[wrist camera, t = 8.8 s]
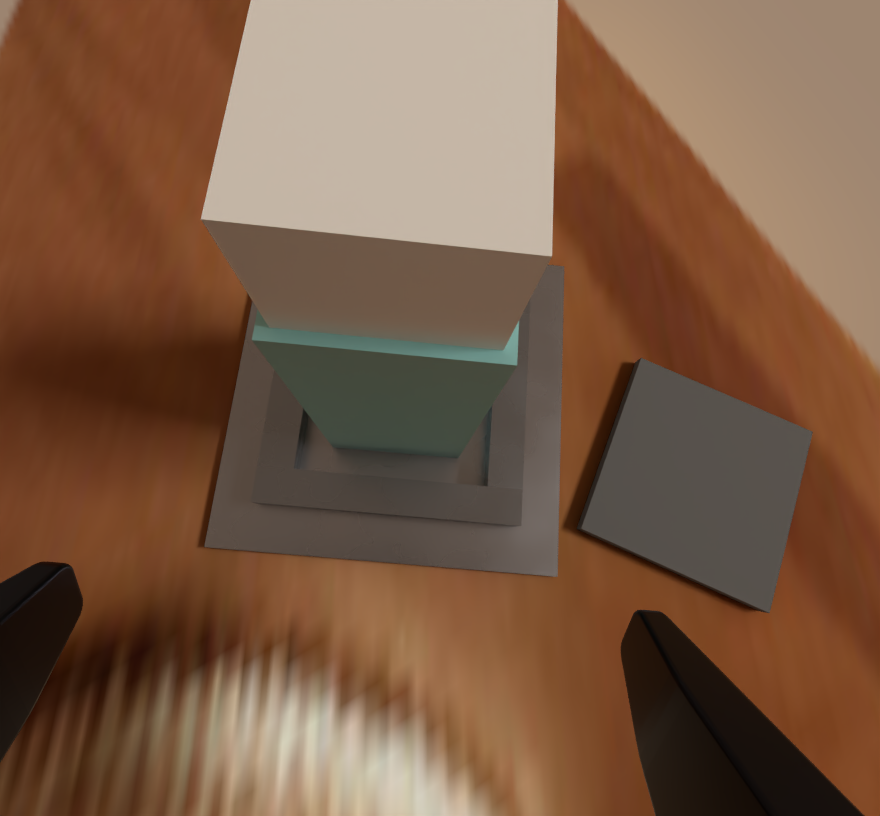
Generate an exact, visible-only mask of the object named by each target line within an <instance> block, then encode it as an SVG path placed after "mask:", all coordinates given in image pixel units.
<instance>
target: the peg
mask: <svg viewBox="0 0 880 816" xmlns="http://www.w3.org/2000/svg"><path fill="white" fill-rule="evenodd" d="M557 7H558V0H251V2H250V7H249V11H248V15H247V20H246V24H245V29H244V33H243V37H242V42H241V46H240V50H239V55H238V59H237V64H236V68H235V72H234V77H233V81H232V85H231V90H230V94H229V99H228V103H227V107H226V112H225V116H224V120H223V125H222V129H221V134H220V138H219V142H218V147H217V151H216V156H215V160H214V164H213V169H212V173H211V177H210V182H209V186H208V191H207V195H206V199H205V204H204V208H203V212H202V217H201V220H202V222H203V223H204V225H205V226H206V228H207V229H208V231H209V233H210V234H211V236H212V237H213V239H214V241H215V242H216V244H217V245H218V247H219V249H220V250H221V252H222V253H223V255H224V256H225V258H226V260H227V261H228V263H229V264H230V266H231V268H232V269H233V271H234V272H235V274H236V276H237V277H238V279H239V280H240V282H241V283H242V285H243V287H244V288H245V290H246V291H247V293H248V295H249V296H250V298H251V299H252V301H253V303H254V304H255V306H256V307H257V315H256V320H255V325H254V331H253V336H252V341H253V342H254V344H255V345H256V346H257V347H258V349H259V350H260V351H261V353H262V354H263V355H264V357H265V358H266V359H267V361H268V362H269V363H270V365H271V366H272V367H273V369H274V370H275V371H276V373H277V374H278V375H279V377H280V378H281V379H282V381H283V382H284V383H285V385H286V386H287V387H288V389H289V390H290V391H291V393H292V394H293V395H294V397H295V398H296V399H297V401H298V402H299V403H300V404H301V406H302V407H303V408H304V410H305V411H306V412H307V414H308V415H309V416H310V418H311V419H312V420H313V422H314V423H315V424H316V426H317V427H318V428H319V430H320V431H321V432H322V434H323V435H324V436H325V438H326V439H327V440H328V442H329V443H330V444H331V446H332V447H335V448H346V449H358V450H369V451H381V452H392V453H404V454H415V455H426V456H438V457H449V458H459V456H460V455H461V453H462V451H463V450H464V448H465V447H466V445H467V444H468V442H469V440H470V439H471V437H472V436H473V434H474V433H475V431H476V429H477V428H478V426H479V425H480V423H481V422H482V420H483V418H484V417H485V415H486V414H487V412H488V411H489V409H490V407H491V406H492V404H493V403H494V401H495V400H496V398H497V396H498V395H499V393H500V392H501V390H502V389H503V387H504V385H505V384H506V382H507V381H508V379H509V378H510V376H511V374H512V373H513V371H514V370H515V368H516V367H517V358H518V333H519V319H520V317H521V315H522V313H523V312H524V310H525V308H526V306H527V304H528V302H529V300H530V298H531V296H532V294H533V292H534V290H535V288H536V286H537V284H538V282H539V281H540V279H541V277H542V275H543V273H544V271H545V269H546V267H547V265H548V263H549V261H550V259H551V257H552V230H553V185H554V141H555V96H556V51H557Z"/></svg>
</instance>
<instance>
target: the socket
mask: <svg viewBox="0 0 880 816" xmlns="http://www.w3.org/2000/svg"><path fill="white" fill-rule="evenodd" d="M563 299H564V267H563V266H554V265H547V267H546V269H545V271H544V273H543V275H542V277H541V279H540V281H539V282H538V284H537V286H536V288H535V290H534V292H533V294H532V296H531V298H530V300H529V302H528V304H527V306H526V308H525V310H524V312H523V313H522V315H521V317H520V319H519V333H518V358H517V367H516V368H515V370H514V371H513V373H512V374H511V376H510V378H509V379H508V381H507V382H506V384H505V385H504V387H503V389H502V390H501V392H500V393H499V395H498V396H497V398H496V400H495V401H494V403H493V404H492V406H491V407H490V409H489V411H488V412H487V414H486V415H485V417H484V418H483V420H482V422H481V423H480V425H479V426H478V428H477V429H476V431H475V433H474V434H473V436H472V437H471V439H470V440H469V442H468V444H467V445H466V447H465V448H464V450H463V451H462V453H461V455H460V456H459V458H449V457H438V456H426V455H415V454H404V453H392V452H381V451H369V450H358V449H346V448H335V447H332V446H331V444H330V443H329V442H328V440H327V439H326V438H325V436H324V435H323V434H322V432H321V431H320V430H319V428H318V427H317V426H316V424H315V423H314V422H313V420H312V419H311V418H310V416H309V415H308V414H307V412H306V411H305V410H304V408H303V407H302V406H301V404H300V403H299V402H298V401H297V399H296V398H295V397H294V395H293V394H292V393H291V391H290V390H289V389H288V387H287V386H286V385H285V383H284V382H283V381H282V379H281V378H280V377H279V375H278V374H277V373H276V371H275V370H274V369H273V367H272V366H271V365H270V363H269V362H268V361H267V359H266V358H265V357H264V355H263V354H262V353H261V351H260V350H259V349H258V347H257V346H256V345H255V344H254V342H253V341H252V336H253V331H254V325H255V320H256V315H257V307H256V306H255V304H254V303H253V301H252V306H251V311H250V316H249V321H248V326H247V331H246V336H245V341H244V346H243V351H242V357H241V362H240V367H239V372H238V377H237V382H236V387H235V392H234V397H233V402H232V408H231V413H230V418H229V423H228V428H227V433H226V438H225V443H224V448H223V453H222V459H221V464H220V469H219V474H218V479H217V484H216V489H215V494H214V499H213V504H212V510H211V515H210V520H209V525H208V530H207V535H206V540H205V545H204V547H210V548H222V549H234V550H246V551H257V552H269V553H281V554H293V555H305V556H317V557H329V558H341V559H353V560H365V561H377V562H388V563H400V564H412V565H424V566H436V567H448V568H460V569H472V570H484V571H496V572H507V573H519V574H531V575H543V576H555V577H557V573H558V528H559V482H560V436H561V391H562V345H563Z"/></svg>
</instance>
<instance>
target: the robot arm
mask: <svg viewBox="0 0 880 816" xmlns="http://www.w3.org/2000/svg"><path fill="white" fill-rule="evenodd" d="M82 606H83V598H82V595H81V592H80V589H79V586H78V583H77V580H76V577H75V574H74V570H73V568H72V567H71V566H70V565H69V564H66V563H57V562H39V563H36V564H34V565H32V566H30V567H29V568H27V569H25V570H23V571H21V572H20V573H18V574H16V575H14V576H12V577H11V578H9V579H7V580H5V581H3V582H2V583H0V762H1V761H2V759H3V757H4V756H5V754H6V752H7V751H8V749H9V748H10V746H11V744H12V743H13V741H14V740H15V738H16V736H17V735H18V733H19V732H20V730H21V728H22V726H23V725H24V723H25V721H26V720H27V718H28V716H29V715H30V713H31V711H32V709H33V707H34V705H35V704H36V702H37V700H38V698H39V696H40V694H41V692H42V690H43V688H44V686H45V684H46V682H47V680H48V678H49V676H50V674H51V672H52V670H53V668H54V666H55V664H56V662H57V660H58V658H59V656H60V654H61V652H62V650H63V648H64V646H65V644H66V642H67V640H68V638H69V636H70V634H71V632H72V630H73V628H74V626H75V624H76V622H77V620H78V618H79V616H80V614H81V611H82ZM621 659H622V664H623V670H624V675H625V681H626V687H627V692H628V698H629V703H630V709H631V714H632V720H633V726H634V731H635V737H636V742H637V747H638V752H639V757H640V761H641V764H642V768H643V772H644V776H645V779H646V783H647V787H648V790H649V794H650V797H651V801H652V804H653V808H654V812H655V815H656V816H864V815H863V814H862V813H861V812H860V811H859V810H858V809H857V808H856V807H855V806H854V805H853V804H852V803H851V802H850V801H849V800H848V799H847V798H846V797H845V796H844V795H843V794H842V793H841V792H840V791H839V790H838V789H837V788H836V786H835V785H834V784H833V783H832V782H831V781H830V780H829V779H828V778H827V777H826V776H825V775H824V774H823V773H822V772H821V771H820V770H819V769H818V768H817V767H816V766H815V765H814V764H813V763H812V762H811V761H810V760H809V759H808V758H807V757H806V756H805V755H804V754H803V753H802V752H801V751H800V750H799V749H798V748H797V747H796V746H795V745H794V744H793V743H792V742H791V741H790V740H789V739H788V738H787V737H786V736H785V735H784V734H783V733H782V732H781V731H780V730H779V729H778V728H777V727H776V726H775V725H774V724H773V723H772V722H771V721H770V720H769V719H768V718H767V717H766V716H765V715H764V714H763V713H762V712H761V711H760V710H759V709H758V708H757V707H756V706H755V705H754V704H753V703H752V702H751V701H750V700H749V699H748V698H747V697H746V696H745V695H744V694H743V693H742V692H741V691H740V690H739V689H738V688H737V687H736V686H735V684H734V683H733V682H732V681H731V680H730V679H729V678H728V677H727V676H726V675H725V674H724V673H723V672H722V671H721V670H720V669H719V668H718V667H717V666H716V665H715V664H714V663H713V662H712V661H711V660H710V659H709V658H708V657H707V656H706V655H705V654H704V653H703V652H702V651H701V650H700V649H699V648H698V647H697V646H696V645H695V644H694V643H693V642H692V641H691V640H690V639H689V638H688V637H687V636H686V635H685V634H684V633H683V632H682V631H681V630H680V629H679V628H678V627H677V626H676V625H675V624H674V623H673V622H672V621H671V620H670V619H669V618H668V617H667V616H666V615H665V614H663V613H662V612H659V611H650V610H637V611H636V612H635V613H634V614H633V616H632V618H631V621H630V623H629V625H628V628H627V630H626V632H625V635H624V637H623V640H622V643H621Z"/></svg>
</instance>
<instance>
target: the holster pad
mask: <svg viewBox="0 0 880 816" xmlns="http://www.w3.org/2000/svg"><path fill="white" fill-rule="evenodd" d="M812 433H813V432H812V431H809V430H807V429H805V428H802V427H800V426H798V425H795V424H793V423H791V422H789V421H786V420H784V419H782V418H779V417H777V416H775V415H772V414H770V413H768V412H765V411H763V410H761V409H758V408H756V407H754V406H751V405H749V404H747V403H744V402H742V401H740V400H737V399H735V398H733V397H731V396H728V395H726V394H724V393H721V392H719V391H717V390H714V389H712V388H710V387H707V386H705V385H703V384H700V383H698V382H696V381H693V380H691V379H689V378H686V377H684V376H682V375H679V374H677V373H675V372H672V371H670V370H668V369H666V368H663V367H661V366H659V365H656V364H654V363H652V362H649V361H647V360H645V359H642V358H640V359H639V360H638V361H637V362H635V365H634V368H633V371H632V374H631V376H630V379H629V382H628V385H627V388H626V391H625V393H624V396H623V399H622V402H621V405H620V408H619V410H618V413H617V416H616V419H615V422H614V425H613V427H612V430H611V433H610V436H609V439H608V441H607V444H606V447H605V450H604V453H603V456H602V458H601V461H600V464H599V467H598V470H597V473H596V475H595V478H594V481H593V484H592V487H591V490H590V492H589V495H588V498H587V501H586V504H585V507H584V509H583V512H582V515H581V518H580V521H579V523H578V526H577V529H578V530H580V531H582V532H585V533H587V534H589V535H591V536H593V537H596V538H598V539H600V540H602V541H605V542H607V543H609V544H611V545H613V546H616V547H618V548H620V549H622V550H625V551H627V552H629V553H631V554H634V555H636V556H638V557H640V558H642V559H645V560H647V561H649V562H651V563H654V564H656V565H658V566H660V567H662V568H665V569H667V570H669V571H671V572H674V573H676V574H678V575H680V576H683V577H685V578H687V579H689V580H691V581H694V582H696V583H698V584H700V585H703V586H705V587H707V588H709V589H711V590H714V591H716V592H718V593H720V594H723V595H725V596H727V597H729V598H731V599H734V600H736V601H738V602H740V603H743V604H745V605H747V606H749V607H752V608H754V609H756V610H758V611H761V612H767V613H770V609H771V605H772V600H773V596H774V592H775V588H776V584H777V579H778V575H779V571H780V567H781V563H782V558H783V554H784V550H785V546H786V542H787V537H788V533H789V529H790V525H791V521H792V517H793V512H794V508H795V504H796V500H797V496H798V491H799V487H800V483H801V479H802V475H803V470H804V466H805V462H806V458H807V454H808V449H809V445H810V441H811V437H812Z"/></svg>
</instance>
